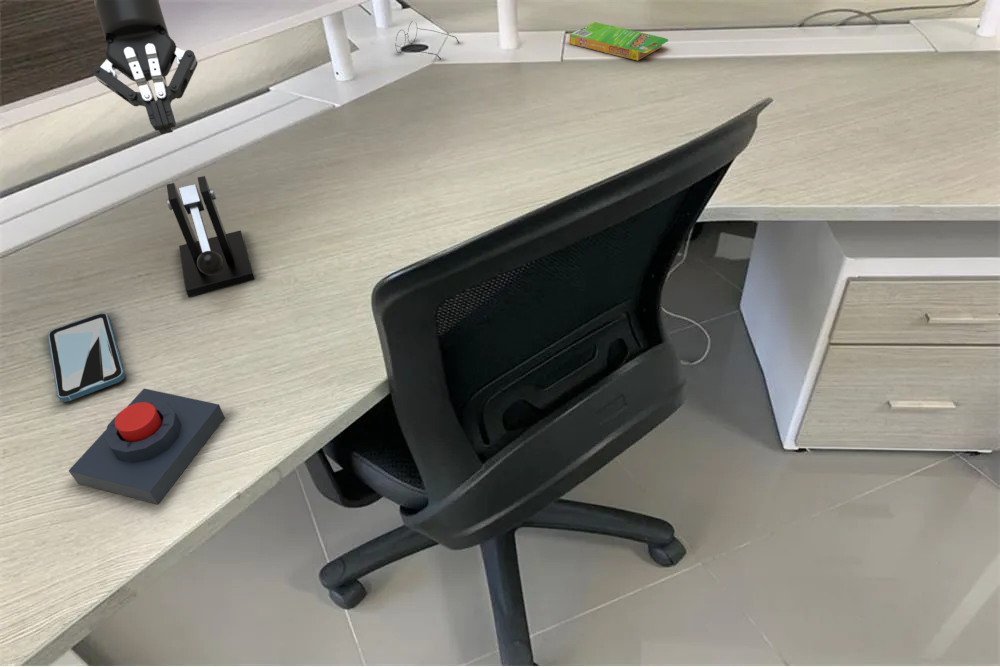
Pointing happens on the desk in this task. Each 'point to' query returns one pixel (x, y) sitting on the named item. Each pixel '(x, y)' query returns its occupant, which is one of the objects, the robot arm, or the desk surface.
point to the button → (138, 422)
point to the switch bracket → (224, 244)
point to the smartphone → (85, 357)
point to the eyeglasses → (415, 38)
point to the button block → (149, 449)
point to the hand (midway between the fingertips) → (166, 131)
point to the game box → (616, 40)
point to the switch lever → (200, 231)
